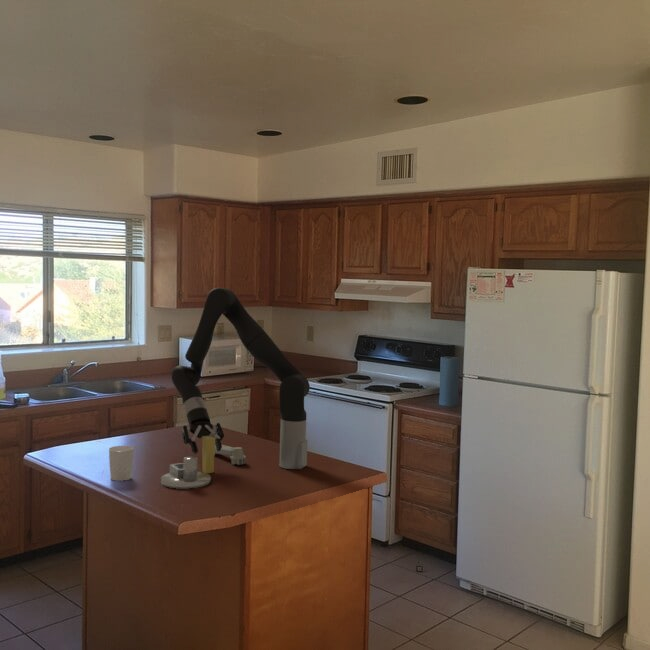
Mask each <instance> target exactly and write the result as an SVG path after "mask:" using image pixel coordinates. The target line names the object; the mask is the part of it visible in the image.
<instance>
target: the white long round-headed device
mask: <svg viewBox="0 0 650 650" xmlns="http://www.w3.org/2000/svg"><path fill="white" fill-rule="evenodd" d="M215 455H222V456H223V455H224V456H229V458H230V461H231V462H230V464H231V465H234V466H235V465H237V466H240V465H244V464H246V457H247V456H246V455H244V448H243V447H233V446H229V445H225V444H222V448H221V450H220V451H217V448H216V445H215Z"/></svg>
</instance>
